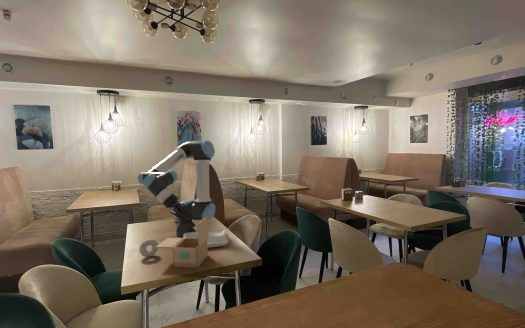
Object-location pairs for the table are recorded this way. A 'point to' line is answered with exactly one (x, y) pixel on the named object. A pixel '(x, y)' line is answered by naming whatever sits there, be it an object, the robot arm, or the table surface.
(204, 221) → the flap
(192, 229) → the robot arm
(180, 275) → the table surface
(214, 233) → the square plate
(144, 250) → the donut
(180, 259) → the carton
